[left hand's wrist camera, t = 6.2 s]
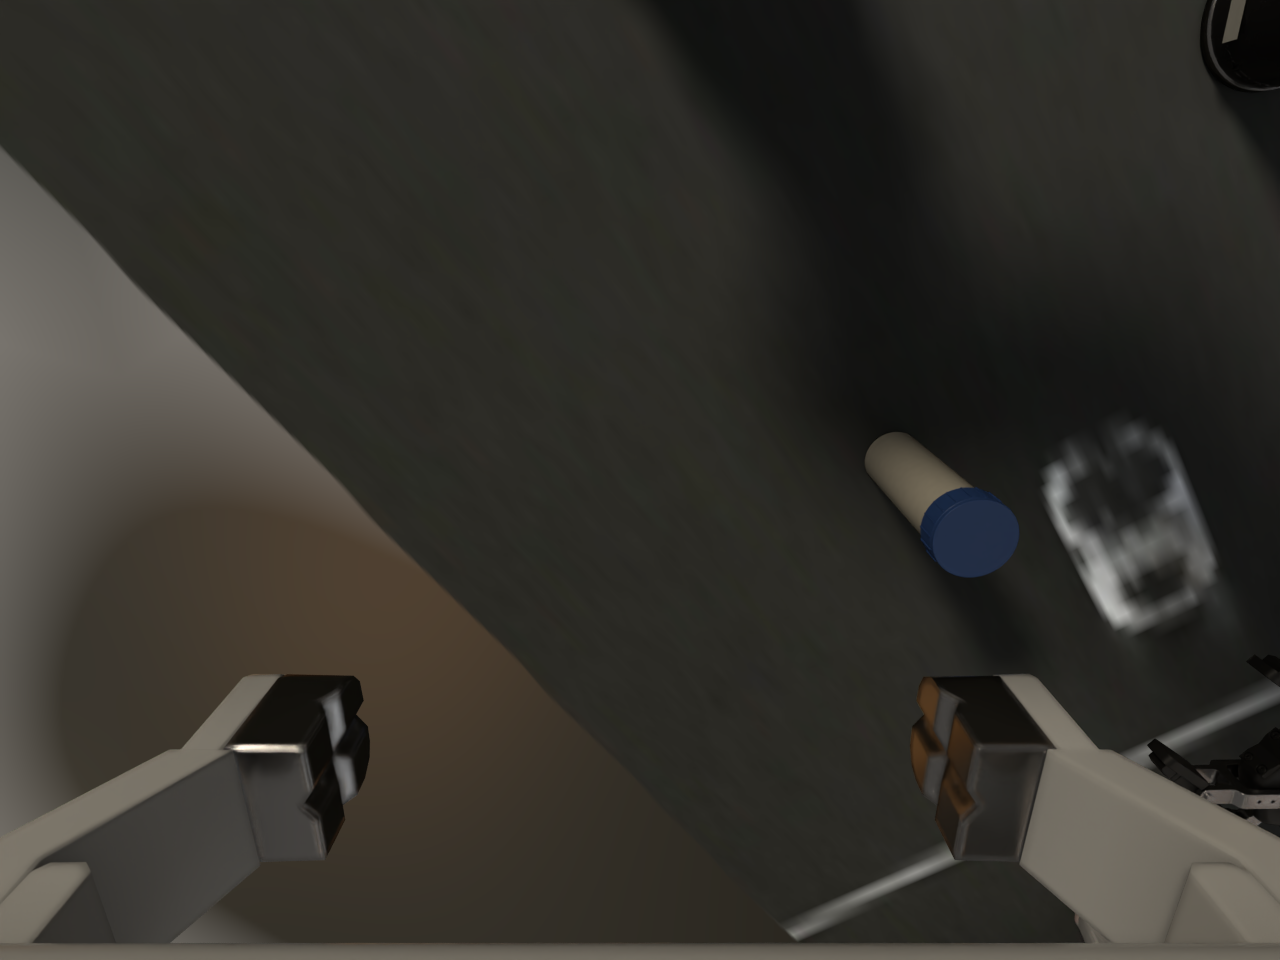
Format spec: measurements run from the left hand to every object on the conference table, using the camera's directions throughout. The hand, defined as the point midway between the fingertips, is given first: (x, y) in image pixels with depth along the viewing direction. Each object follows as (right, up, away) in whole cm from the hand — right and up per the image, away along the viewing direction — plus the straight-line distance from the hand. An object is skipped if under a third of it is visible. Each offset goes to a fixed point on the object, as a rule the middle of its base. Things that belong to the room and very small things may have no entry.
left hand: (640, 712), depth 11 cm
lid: (+21, 0, +35) cm, 41 cm away
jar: (+21, +5, +49) cm, 54 cm away
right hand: (+38, -12, +38) cm, 55 cm away
